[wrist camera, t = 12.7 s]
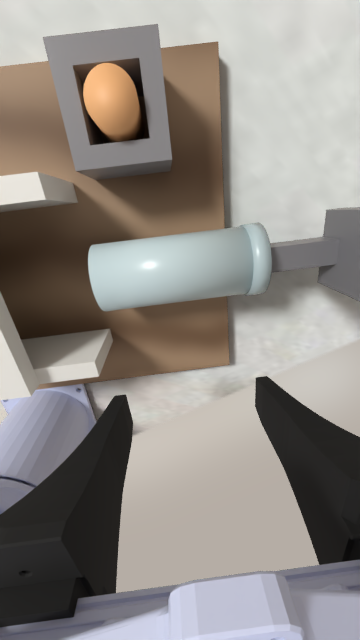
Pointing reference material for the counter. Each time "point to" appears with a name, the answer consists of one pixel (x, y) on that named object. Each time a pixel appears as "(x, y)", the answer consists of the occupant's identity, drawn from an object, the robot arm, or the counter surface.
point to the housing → (44, 190)
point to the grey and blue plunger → (221, 263)
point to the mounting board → (113, 220)
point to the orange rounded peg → (113, 103)
